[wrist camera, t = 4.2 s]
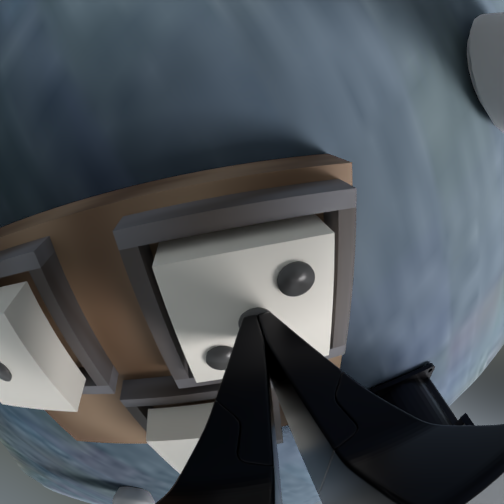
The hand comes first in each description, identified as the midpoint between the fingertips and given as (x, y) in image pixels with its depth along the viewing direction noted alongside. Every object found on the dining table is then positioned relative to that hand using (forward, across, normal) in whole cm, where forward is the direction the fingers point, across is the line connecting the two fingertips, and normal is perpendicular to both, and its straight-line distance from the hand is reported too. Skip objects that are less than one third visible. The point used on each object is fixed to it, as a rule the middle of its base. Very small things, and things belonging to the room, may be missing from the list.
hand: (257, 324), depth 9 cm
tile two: (+1, +3, +7) cm, 8 cm away
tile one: (+1, +10, 0) cm, 10 cm away
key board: (+4, +5, +3) cm, 7 cm away
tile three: (+2, 0, 0) cm, 2 cm away
